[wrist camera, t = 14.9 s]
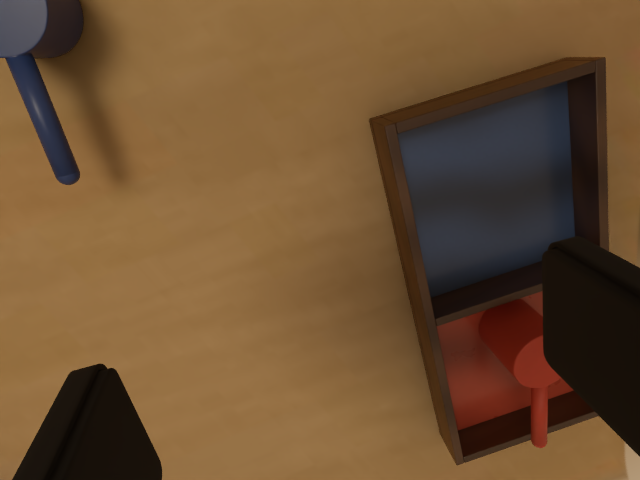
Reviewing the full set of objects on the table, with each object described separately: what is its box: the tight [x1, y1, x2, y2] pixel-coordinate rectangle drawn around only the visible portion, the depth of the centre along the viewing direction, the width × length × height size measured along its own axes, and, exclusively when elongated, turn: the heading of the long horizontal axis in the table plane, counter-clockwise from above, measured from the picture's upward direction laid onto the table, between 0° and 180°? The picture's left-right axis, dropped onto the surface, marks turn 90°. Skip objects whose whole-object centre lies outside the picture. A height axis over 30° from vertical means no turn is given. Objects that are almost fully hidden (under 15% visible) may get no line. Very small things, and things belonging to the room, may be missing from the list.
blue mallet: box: [0, 0, 83, 185], centre depth 21 cm, size 10×4×4 cm, turn 11°
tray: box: [369, 57, 609, 465], centre depth 30 cm, size 25×12×3 cm, turn 16°
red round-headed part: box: [479, 299, 561, 448], centre depth 31 cm, size 10×4×4 cm, turn 11°
